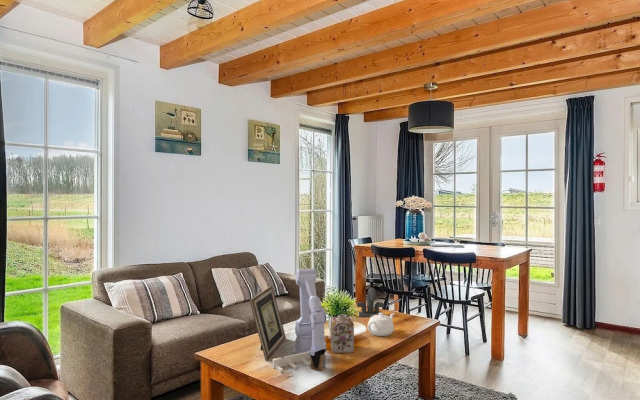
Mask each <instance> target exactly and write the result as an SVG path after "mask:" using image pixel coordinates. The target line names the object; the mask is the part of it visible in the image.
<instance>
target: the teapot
mask: <svg viewBox="0 0 640 400" xmlns="http://www.w3.org/2000/svg"><path fill="white" fill-rule="evenodd" d="M383 314H384V313H383V312H382V313H379V315H373V316H371V317H369V320H368V322H367V327H366V328H367V330H368V332H369V333H370V334H371V335H373V336H376V337H387V336H390V335H391V334H392V333H393V332H394V330H395V327H394V326H395V325H394V322H393V319H394V318H393V317H394V315H395V312H392V313H391V314H390V315H387V314H386V315H385V314H384V315H383Z"/></svg>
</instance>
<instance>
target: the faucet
mask: <svg viewBox="0 0 640 400" xmlns="http://www.w3.org/2000/svg"><path fill="white" fill-rule="evenodd" d="M366 296H367V297H366V298H367V299H366V302H367V303H365V302H363V301H357V302H356V307H357V308H361V311H358V312H359V316H358V318H371V316H373V315H379V313H383V312H382V311H381V310H380V308H384V307H385V303H384V302H380V301H378V302H376V303H375V302H374V301H377V300H378V298H377V297H378V296H377V290H376V288H374V287H369V288H368V289H367V295H366ZM383 315H385V314H384V313H383Z"/></svg>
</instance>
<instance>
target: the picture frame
mask: <svg viewBox="0 0 640 400" xmlns="http://www.w3.org/2000/svg"><path fill="white" fill-rule="evenodd" d="M249 302H250V308H251V310H252V311H251V312H252V315H253V319H254V323H255V326H256V330H257V334H258V338H259V342H260V350H262V353H263V357H264V360H265V361H267V360H269V359H270V358H271V356H272V355H273V354H274V353H275V352H276V350H277V349H278V348H279V347H280V346H281V345H282V344H283V343H284V341H285V340H286V339H287V338H286V337H287V336H286V333H285V329H284V326H283V325H284V324H283V321H282V319H281V313H280V310H279V306H278V303H277V299H276V295H275V290H274V289H273V285H270V286H268V287H267V288H265V289H264V290H262V291H260V293H259V292H258V294H256V295H255V296H253V297H252V298H250V299H249Z"/></svg>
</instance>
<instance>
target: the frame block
mask: <svg viewBox="0 0 640 400" xmlns="http://www.w3.org/2000/svg"><path fill="white" fill-rule="evenodd" d="M326 358H327V356H326V354H325V355H321V356H320V360H319V367H318V368H316V367H314V366H313V361H312V358H311V360H310V370H315V371H320V372H322V371H325V369H326Z"/></svg>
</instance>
